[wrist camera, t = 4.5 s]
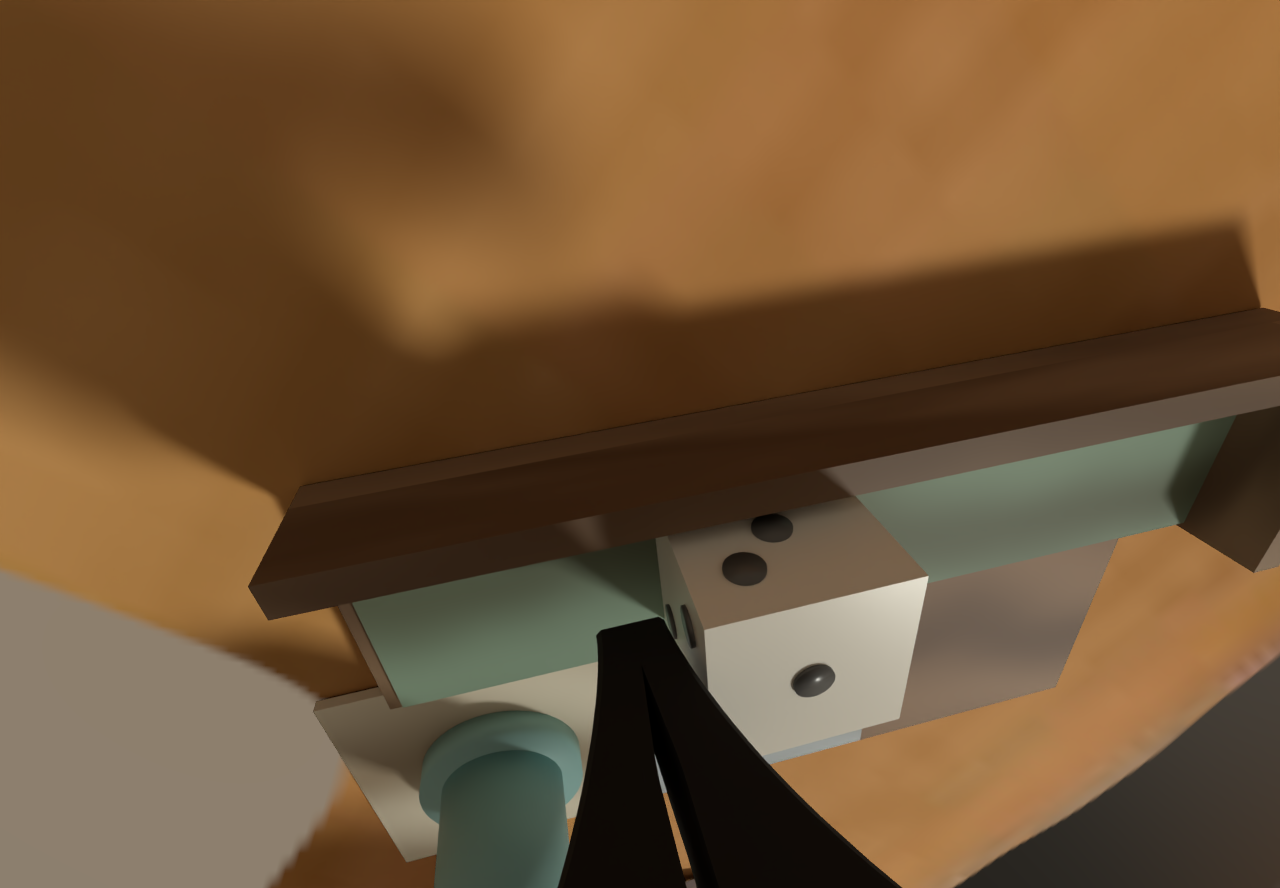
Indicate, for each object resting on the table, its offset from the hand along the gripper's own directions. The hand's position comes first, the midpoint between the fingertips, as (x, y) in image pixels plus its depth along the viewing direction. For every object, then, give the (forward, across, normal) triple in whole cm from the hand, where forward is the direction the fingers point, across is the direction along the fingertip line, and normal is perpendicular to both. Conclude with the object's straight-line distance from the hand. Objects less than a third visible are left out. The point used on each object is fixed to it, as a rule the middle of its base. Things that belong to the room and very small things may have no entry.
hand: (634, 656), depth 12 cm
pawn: (+3, +4, +7) cm, 9 cm away
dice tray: (+3, -6, 0) cm, 7 cm away
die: (+2, -3, 0) cm, 4 cm away
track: (+3, -4, +7) cm, 9 cm away
